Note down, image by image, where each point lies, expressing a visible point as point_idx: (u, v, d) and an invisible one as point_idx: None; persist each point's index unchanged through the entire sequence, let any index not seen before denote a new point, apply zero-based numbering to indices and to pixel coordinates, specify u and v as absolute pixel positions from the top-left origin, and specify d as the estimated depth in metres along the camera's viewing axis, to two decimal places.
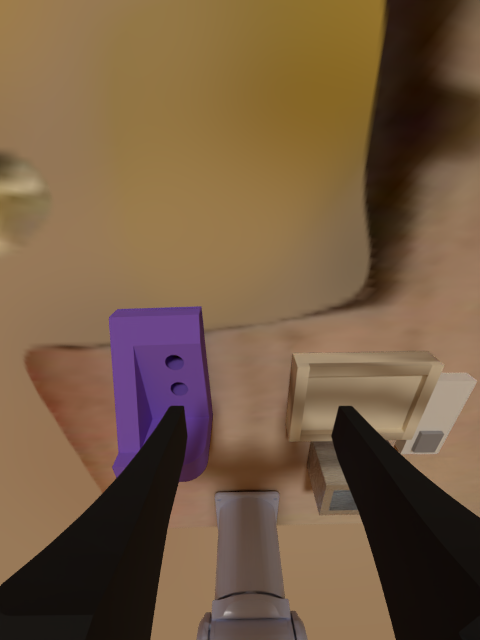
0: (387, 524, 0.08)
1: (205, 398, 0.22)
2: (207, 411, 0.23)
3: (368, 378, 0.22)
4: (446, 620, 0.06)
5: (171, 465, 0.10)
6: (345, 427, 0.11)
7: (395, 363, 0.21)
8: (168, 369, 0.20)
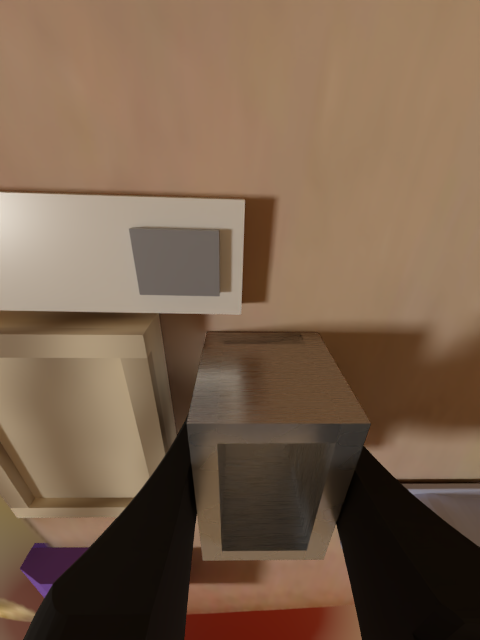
0: (355, 524, 0.08)
1: None
2: None
3: (10, 431, 0.12)
4: (402, 620, 0.06)
5: None
6: None
7: None
8: None
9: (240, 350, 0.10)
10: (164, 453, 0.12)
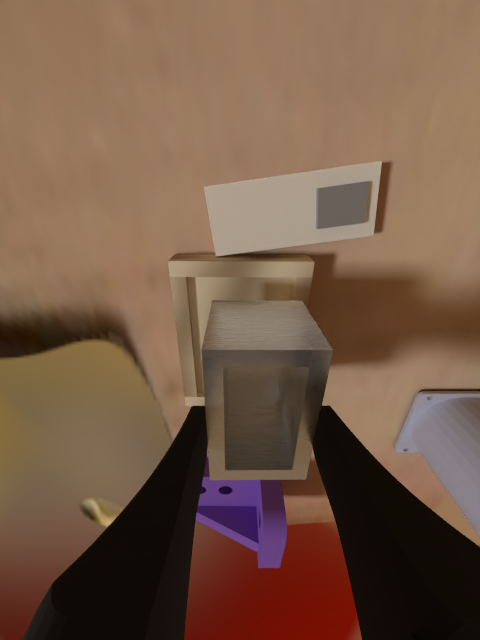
0: (355, 524, 0.08)
1: None
2: None
3: (202, 336, 0.18)
4: (402, 621, 0.06)
5: (197, 465, 0.10)
6: (321, 427, 0.11)
7: None
8: (205, 493, 0.26)
9: (239, 311, 0.13)
10: None
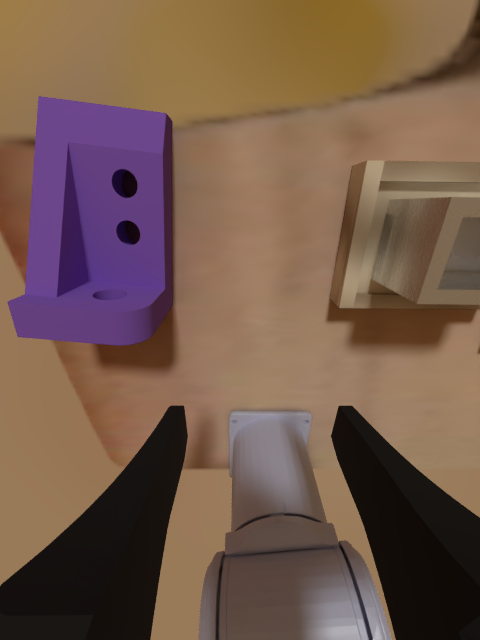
0: (387, 524, 0.08)
1: (162, 255, 0.16)
2: (163, 279, 0.17)
3: (460, 196, 0.15)
4: (446, 620, 0.06)
5: (171, 465, 0.10)
6: (345, 427, 0.11)
7: None
8: (115, 195, 0.15)
9: None
10: (415, 308, 0.18)
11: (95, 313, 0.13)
